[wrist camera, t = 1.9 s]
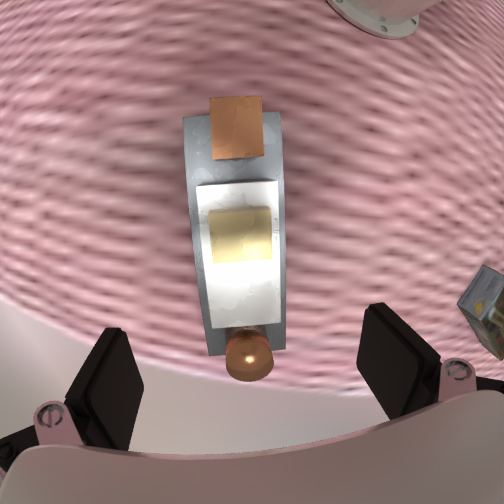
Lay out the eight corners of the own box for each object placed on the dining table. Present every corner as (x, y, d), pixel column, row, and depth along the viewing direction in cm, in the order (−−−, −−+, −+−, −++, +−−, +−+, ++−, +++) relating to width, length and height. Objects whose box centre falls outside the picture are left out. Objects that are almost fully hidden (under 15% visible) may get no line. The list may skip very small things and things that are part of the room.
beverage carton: (482, 260, 30) (513, 276, 24) (504, 314, 35) (525, 329, 29) (454, 303, 31) (482, 324, 25) (482, 346, 36) (501, 364, 30)
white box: (200, 183, 19) (193, 188, 15) (270, 178, 20) (282, 182, 15) (213, 308, 22) (211, 340, 18) (273, 303, 23) (284, 333, 18)
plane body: (190, 125, 22) (161, 94, 11) (270, 121, 22) (307, 87, 12) (210, 329, 28) (206, 413, 17) (277, 323, 29) (303, 404, 18)
